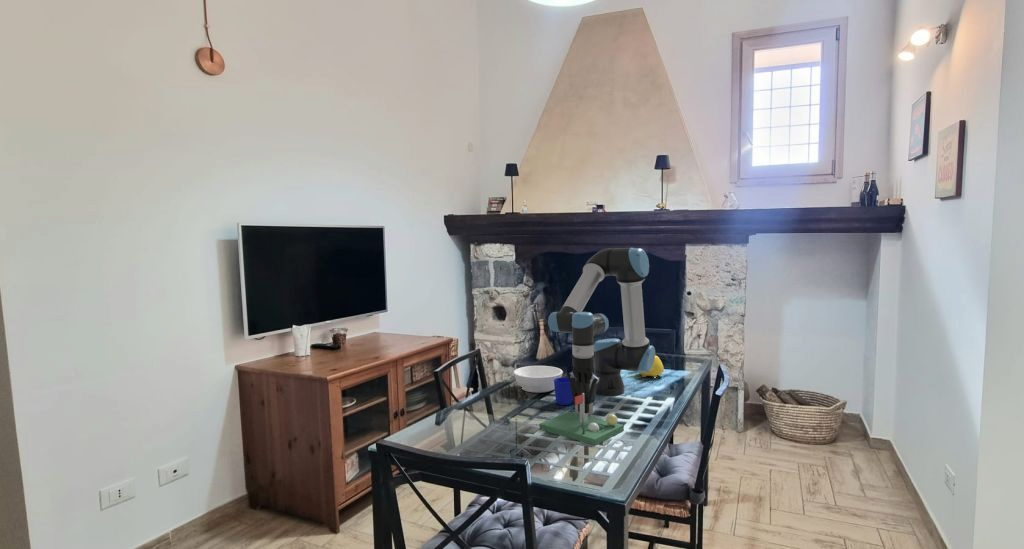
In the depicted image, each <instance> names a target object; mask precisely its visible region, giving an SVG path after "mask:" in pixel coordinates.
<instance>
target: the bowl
mask: <svg viewBox="0 0 1024 549" xmlns="http://www.w3.org/2000/svg"><path fill="white" fill-rule="evenodd" d="M563 373H564V371H563V370H562V369H561V368H559V367H555V366H549V365H528V366H521V367H519V368H516V369H514V370H513V376H514V379H515V381H516V383H518V384H520V388H521V387H522V388H521V389H522V390H523V391H526V392H527V393H529V392H530V393H548V392H551V391H555V387H554V379H556V378H562V376H563Z"/></svg>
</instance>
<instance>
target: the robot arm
mask: <svg viewBox="0 0 1024 549" xmlns="http://www.w3.org/2000/svg"><path fill="white" fill-rule="evenodd" d="M649 272H650V262H649V257H648V255H647V253H646V251H645V250H644V249H643V248H638V247H637V248H636V247H617V248H616V247H615V248H612V247H608V248H603V249H602V250H599V251H598V252H596V253H595V254H594V255H593V256H591V257H590V258H589V259H588V260H587V261H586V263H585V264H584V266H583V267H582V274H581V276H580V277H579V279H578V280H577V281H576V284H574V287H573V289H572V290H571V292H570V294H569V296H567V299H566V301H565V302H564V304H563V305H562V307H561V308H560V310H559V311H553V312H551V313H550V314H549V315H548V319H547V320H548V321H547V324H548V328H549V330H551V331H552V332H556V333H557V332H558V333H567V334H571V335H572V336H571V337H572V338H571V339H572V341H571V342H572V346H571V348H572V352H571V353H572V363H571V364H572V370H571V372H569V373H567V374H566V378H568V379H569V382H570V387H571V391H572V396H573V400H572V401H573V402H575V397H576V396H578V395H581V394H582V393H584V401H585V422H586V421H588V416H589V415H588V413H589V404H591V403H593V404H594V402H595V399H596V395H599V396H600V395H601V396H618V395H622V394H624V393H625V389H626V388H625V384H624V381H623V378H622V375H621V371H628V372H636V373H638V372H648V371H650V369H651V368H652V366H653V363H654V359H655V355H656V348H655V347H654V345H650V339H649V338H648V337H646V329H645V328H646V327H645V314H644V301H643V300H644V298H643V289H642V284H643V282H644V281H645V280H646V278H645V277H647V276H648V275H649ZM608 276H610V277H612V276H613V277H615V278H616V279H615V280H616V282H617V284H619V286H620V294H621V307H622V316H623V317H622V318H623V329H624V338H623V339H622V340H621V339H619V338H615V337H614V338H604V339H599V340H597V341H595V342H594V337H596V336H599V335H602V334H603V333H606V331H607V330H608V329H609V323H610V322H609V318H608V317H607V316H606V315H605V314H604V313H594V314H593V313H592V312H589V311H583V310H584V309H585V307H586V305H587V303H588V301H589V300H590V299H591V297H592V295H593V293H594V292H595V290H596V288H597V286H598V285H599V283H600V282H602V281H603V280H604V279H605V277H608ZM591 379H592V380H591ZM590 380H591V381H592V383H591V387H590ZM578 411H579V412H580V422H582V403H580V404H578Z"/></svg>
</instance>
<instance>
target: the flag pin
mask: <svg viewBox="0 0 1024 549" xmlns="http://www.w3.org/2000/svg"><path fill="white" fill-rule="evenodd" d="M580 403H582V434H585V401H584V393H582V394H581V395H578V396H576V397H575V401H574V406H575V405H577V404H580Z"/></svg>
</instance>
